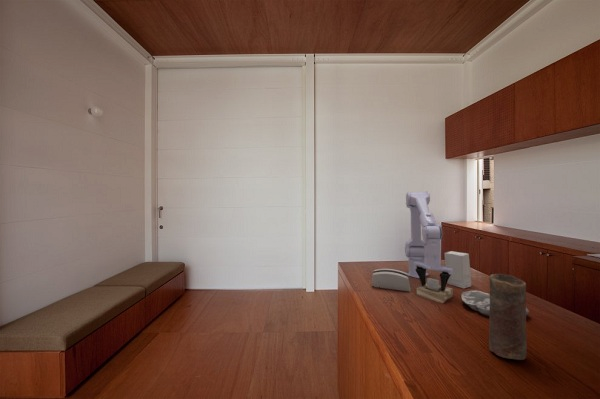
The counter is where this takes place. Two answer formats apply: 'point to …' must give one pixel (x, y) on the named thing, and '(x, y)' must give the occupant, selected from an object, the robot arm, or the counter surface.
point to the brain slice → (479, 301)
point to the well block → (435, 293)
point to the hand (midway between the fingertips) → (433, 287)
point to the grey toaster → (391, 279)
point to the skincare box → (458, 269)
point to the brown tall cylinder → (507, 317)
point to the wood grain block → (433, 284)
